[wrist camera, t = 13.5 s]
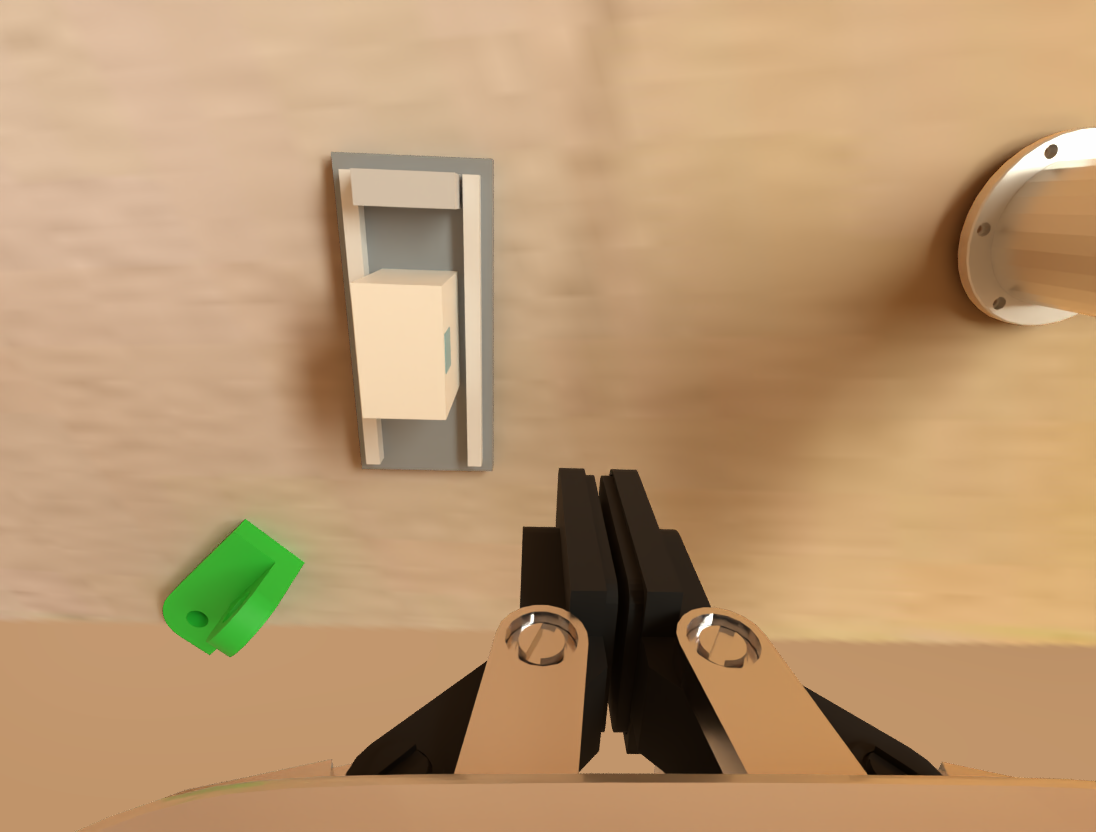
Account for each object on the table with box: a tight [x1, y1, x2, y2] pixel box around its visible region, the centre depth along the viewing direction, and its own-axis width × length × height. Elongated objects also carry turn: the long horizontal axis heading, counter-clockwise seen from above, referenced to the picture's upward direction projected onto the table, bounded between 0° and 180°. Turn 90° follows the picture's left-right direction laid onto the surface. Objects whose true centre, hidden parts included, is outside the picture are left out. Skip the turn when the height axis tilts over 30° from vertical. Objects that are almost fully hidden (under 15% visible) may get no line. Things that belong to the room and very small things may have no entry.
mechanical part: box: [163, 519, 304, 657], centre depth 43 cm, size 12×6×8 cm, turn 133°
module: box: [350, 269, 460, 420], centre depth 35 cm, size 5×8×7 cm, turn 178°
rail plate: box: [331, 152, 494, 471], centre depth 37 cm, size 10×22×4 cm, turn 178°
